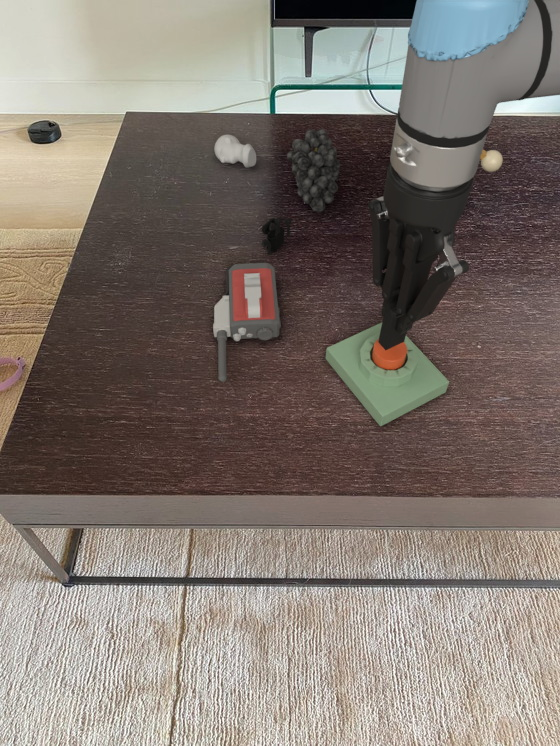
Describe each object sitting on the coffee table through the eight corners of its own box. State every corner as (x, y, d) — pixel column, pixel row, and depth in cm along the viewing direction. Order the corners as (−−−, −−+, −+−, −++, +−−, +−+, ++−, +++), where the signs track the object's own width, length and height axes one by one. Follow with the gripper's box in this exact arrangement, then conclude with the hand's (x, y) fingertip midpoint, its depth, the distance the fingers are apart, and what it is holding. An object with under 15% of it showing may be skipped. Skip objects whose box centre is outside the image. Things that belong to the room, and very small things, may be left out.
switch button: (411, 362, 75) (414, 352, 74) (384, 375, 74) (386, 366, 72) (391, 340, 77) (393, 330, 76) (365, 352, 76) (367, 343, 74)
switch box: (445, 392, 77) (453, 372, 74) (380, 426, 74) (384, 408, 70) (387, 329, 83) (392, 308, 80) (325, 358, 80) (327, 338, 77)
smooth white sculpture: (211, 162, 108) (231, 143, 109) (242, 181, 104) (263, 161, 105) (203, 144, 104) (224, 124, 105) (235, 163, 100) (256, 142, 101)
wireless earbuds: (266, 263, 91) (265, 236, 87) (252, 256, 92) (251, 229, 88) (293, 237, 94) (294, 210, 90) (279, 231, 95) (280, 204, 91)
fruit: (334, 173, 89) (331, 114, 98) (279, 187, 91) (281, 128, 100) (348, 218, 95) (344, 159, 104) (296, 231, 98) (297, 172, 107)
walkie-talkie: (214, 275, 89) (214, 387, 77) (211, 252, 86) (211, 366, 73) (275, 272, 89) (285, 384, 77) (275, 249, 86) (285, 362, 74)
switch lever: (493, 167, 98) (507, 153, 96) (491, 179, 96) (507, 165, 94) (426, 122, 95) (440, 106, 93) (424, 133, 93) (438, 117, 91)
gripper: (353, 143, 57) (334, 318, 75) (446, 223, 50) (399, 393, 69) (419, 120, 59) (384, 296, 78) (515, 194, 52) (451, 367, 71)
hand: (391, 341), depth 73 cm, fingers closed
